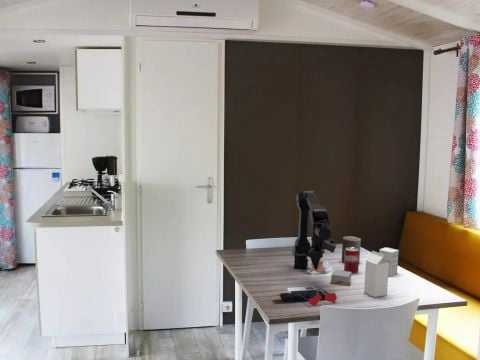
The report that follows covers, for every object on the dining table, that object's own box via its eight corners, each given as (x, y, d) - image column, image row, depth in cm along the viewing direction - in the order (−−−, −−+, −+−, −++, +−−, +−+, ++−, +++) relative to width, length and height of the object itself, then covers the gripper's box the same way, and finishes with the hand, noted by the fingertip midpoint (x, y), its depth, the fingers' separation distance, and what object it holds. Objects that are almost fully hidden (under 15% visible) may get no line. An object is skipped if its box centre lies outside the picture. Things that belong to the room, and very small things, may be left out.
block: (310, 271, 232) (311, 262, 231) (311, 268, 236) (312, 259, 236) (321, 272, 230) (321, 263, 230) (322, 269, 235) (322, 260, 235)
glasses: (309, 308, 207) (309, 296, 206) (290, 294, 222) (290, 284, 221) (337, 303, 212) (338, 292, 211) (317, 291, 227) (317, 280, 226)
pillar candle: (339, 264, 269) (341, 236, 267) (343, 259, 278) (344, 233, 276) (358, 266, 266) (359, 239, 264) (360, 261, 275) (362, 235, 273)
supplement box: (377, 273, 254) (378, 249, 252) (384, 270, 259) (385, 246, 257) (390, 276, 249) (392, 252, 247) (397, 273, 254) (399, 249, 252)
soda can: (358, 274, 251) (359, 251, 250) (343, 273, 253) (344, 250, 251) (358, 270, 258) (359, 247, 257) (343, 269, 260) (344, 246, 258)
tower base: (330, 285, 236) (330, 280, 236) (332, 279, 245) (332, 274, 245) (350, 287, 234) (350, 282, 234) (350, 281, 243) (351, 276, 242)
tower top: (331, 279, 237) (331, 274, 236) (334, 274, 244) (334, 269, 244) (348, 282, 234) (348, 276, 233) (351, 277, 241) (351, 272, 241)
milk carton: (374, 297, 219) (377, 255, 217) (363, 292, 225) (366, 251, 223) (387, 295, 222) (389, 253, 220) (375, 290, 228) (378, 249, 226)
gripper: (334, 241, 220) (332, 275, 222) (337, 232, 238) (335, 263, 240) (308, 239, 223) (307, 272, 225) (313, 230, 241) (312, 261, 243)
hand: (316, 267), depth 233 cm, fingers closed on block, 5 cm apart
